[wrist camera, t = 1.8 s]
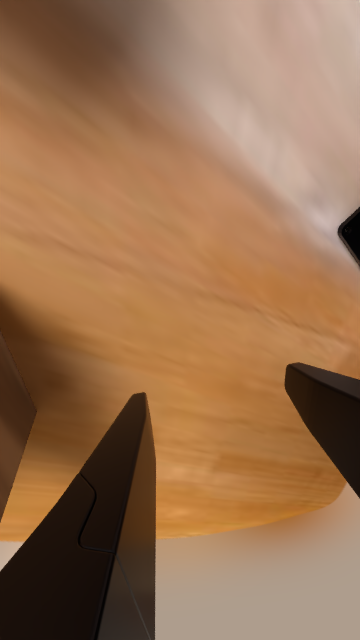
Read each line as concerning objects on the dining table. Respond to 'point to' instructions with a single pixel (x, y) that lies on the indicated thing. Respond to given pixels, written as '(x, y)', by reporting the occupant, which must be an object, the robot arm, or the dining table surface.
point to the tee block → (12, 421)
